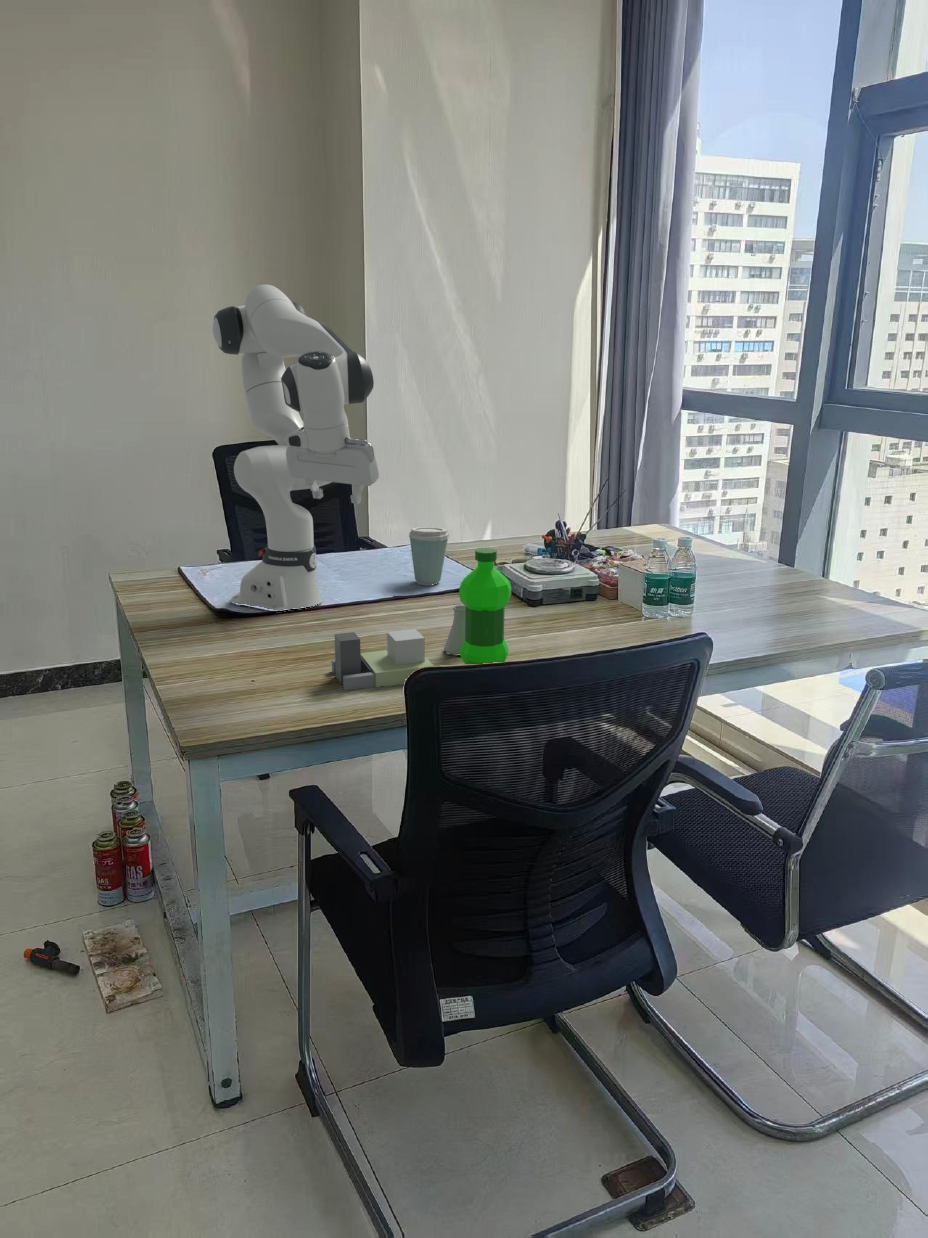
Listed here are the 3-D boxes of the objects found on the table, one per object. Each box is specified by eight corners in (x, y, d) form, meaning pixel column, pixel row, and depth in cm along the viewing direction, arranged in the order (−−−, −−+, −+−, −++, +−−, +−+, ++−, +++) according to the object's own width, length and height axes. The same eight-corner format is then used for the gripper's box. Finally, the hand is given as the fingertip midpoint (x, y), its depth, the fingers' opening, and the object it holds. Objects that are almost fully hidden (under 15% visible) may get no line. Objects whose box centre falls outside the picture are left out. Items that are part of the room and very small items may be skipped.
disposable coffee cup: (407, 577, 267) (407, 523, 263) (447, 576, 269) (447, 523, 264) (410, 588, 257) (409, 532, 253) (451, 587, 259) (451, 531, 254)
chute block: (341, 684, 193) (340, 641, 190) (335, 676, 197) (334, 634, 194) (361, 682, 194) (360, 639, 191) (355, 674, 198) (354, 632, 195)
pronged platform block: (345, 691, 189) (344, 652, 187) (331, 670, 200) (330, 633, 198) (434, 680, 195) (434, 642, 193) (415, 660, 206) (415, 624, 204)
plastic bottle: (455, 676, 197) (456, 555, 190) (464, 659, 207) (465, 543, 199) (505, 680, 196) (507, 558, 188) (511, 662, 205) (514, 545, 198)
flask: (442, 646, 215) (442, 602, 212) (475, 645, 215) (475, 601, 212) (444, 657, 208) (444, 612, 205) (478, 656, 209) (478, 611, 206)
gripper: (380, 435, 195) (388, 499, 202) (295, 427, 204) (305, 489, 210) (363, 445, 190) (372, 511, 197) (277, 437, 199) (288, 500, 206)
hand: (337, 500), depth 204 cm, fingers open, 8 cm apart
